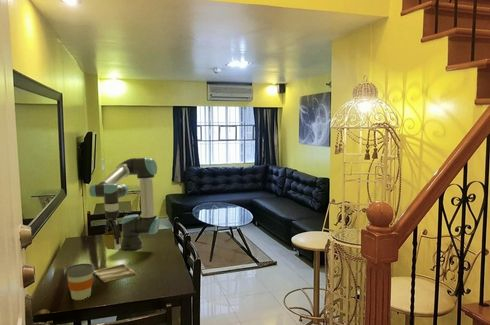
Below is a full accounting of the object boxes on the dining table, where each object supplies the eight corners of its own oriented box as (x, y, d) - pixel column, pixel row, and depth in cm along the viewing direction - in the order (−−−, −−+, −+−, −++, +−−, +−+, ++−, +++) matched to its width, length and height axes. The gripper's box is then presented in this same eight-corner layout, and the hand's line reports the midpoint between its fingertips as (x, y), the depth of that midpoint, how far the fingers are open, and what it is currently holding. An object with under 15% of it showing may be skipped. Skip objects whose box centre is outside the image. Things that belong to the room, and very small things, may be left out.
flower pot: (123, 246, 228) (123, 231, 227) (117, 250, 219) (116, 235, 218) (109, 245, 229) (109, 231, 228) (102, 250, 220) (102, 235, 219)
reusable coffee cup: (76, 290, 202) (74, 263, 201) (98, 291, 201) (97, 263, 200) (62, 301, 190) (60, 271, 189) (86, 302, 189) (85, 272, 187)
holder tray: (93, 273, 227) (93, 270, 227) (123, 266, 238) (123, 263, 238) (104, 282, 213) (104, 279, 213) (135, 274, 224) (135, 271, 224)
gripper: (98, 208, 229) (100, 243, 231) (112, 214, 210) (114, 253, 212) (110, 206, 234) (112, 241, 236) (126, 212, 215) (127, 250, 217)
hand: (113, 247), depth 224 cm, fingers closed on flower pot, 11 cm apart
